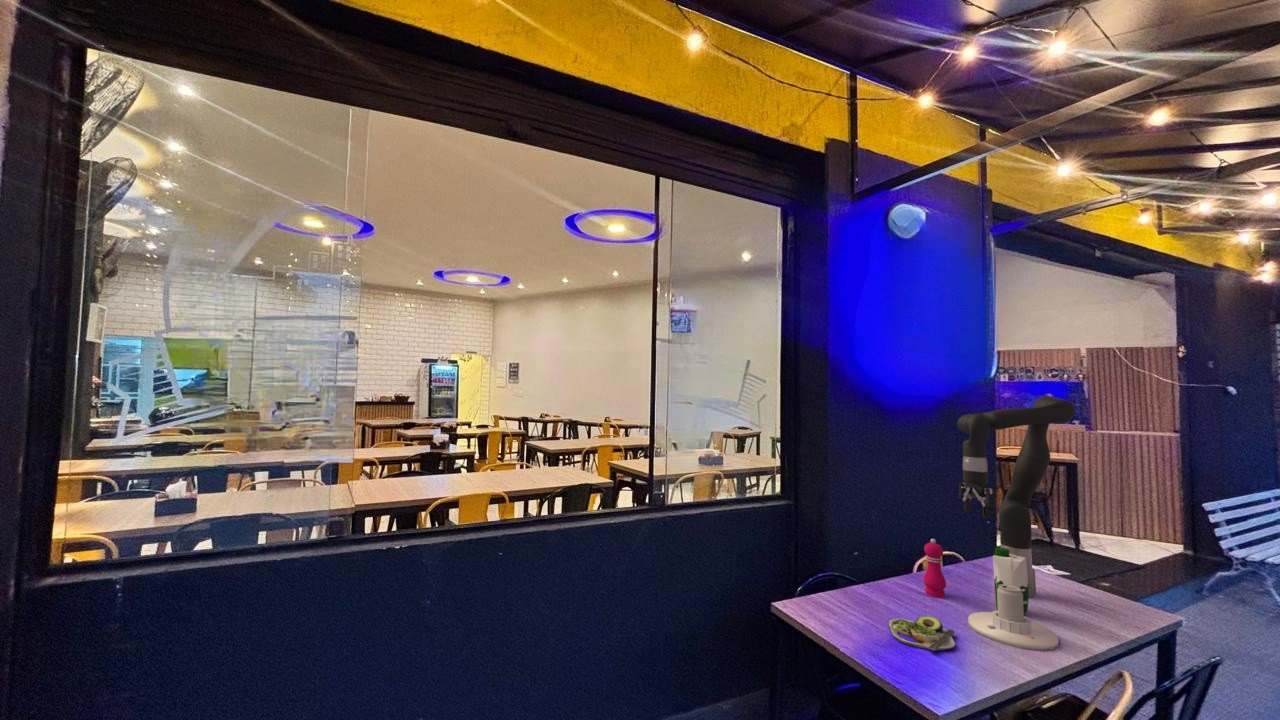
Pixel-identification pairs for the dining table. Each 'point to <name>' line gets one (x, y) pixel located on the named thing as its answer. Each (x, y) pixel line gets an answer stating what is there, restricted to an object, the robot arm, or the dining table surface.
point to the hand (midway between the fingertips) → (977, 514)
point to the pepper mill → (934, 571)
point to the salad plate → (923, 633)
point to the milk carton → (1011, 573)
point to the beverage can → (1010, 603)
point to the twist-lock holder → (1013, 631)
